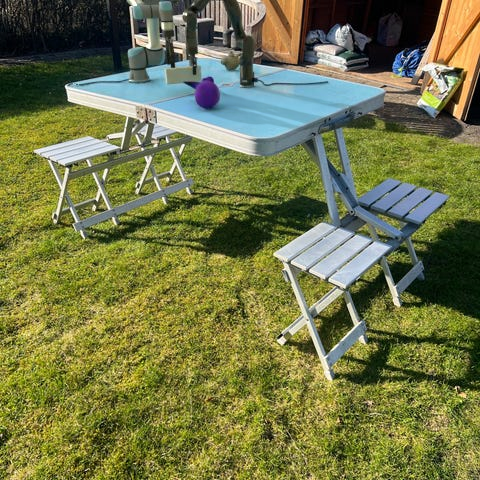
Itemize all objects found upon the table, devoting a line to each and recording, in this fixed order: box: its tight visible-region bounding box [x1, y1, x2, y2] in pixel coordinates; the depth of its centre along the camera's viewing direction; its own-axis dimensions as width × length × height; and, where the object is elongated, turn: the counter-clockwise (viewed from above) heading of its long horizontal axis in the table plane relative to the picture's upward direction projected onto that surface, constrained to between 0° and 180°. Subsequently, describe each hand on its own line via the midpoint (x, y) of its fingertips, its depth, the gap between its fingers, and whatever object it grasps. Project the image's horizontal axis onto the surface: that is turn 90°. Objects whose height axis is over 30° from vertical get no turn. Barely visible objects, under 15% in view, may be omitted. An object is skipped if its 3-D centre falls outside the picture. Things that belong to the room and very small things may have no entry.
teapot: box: [220, 50, 242, 72], centre depth 368 cm, size 21×12×15 cm, turn 120°
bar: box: [164, 64, 203, 85], centre depth 291 cm, size 23×6×9 cm, turn 107°
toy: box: [182, 75, 221, 110], centre depth 265 cm, size 16×18×27 cm
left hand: (171, 66), depth 287 cm, fingers open, 13 cm apart
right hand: (193, 73), depth 293 cm, fingers closed on bar, 5 cm apart
